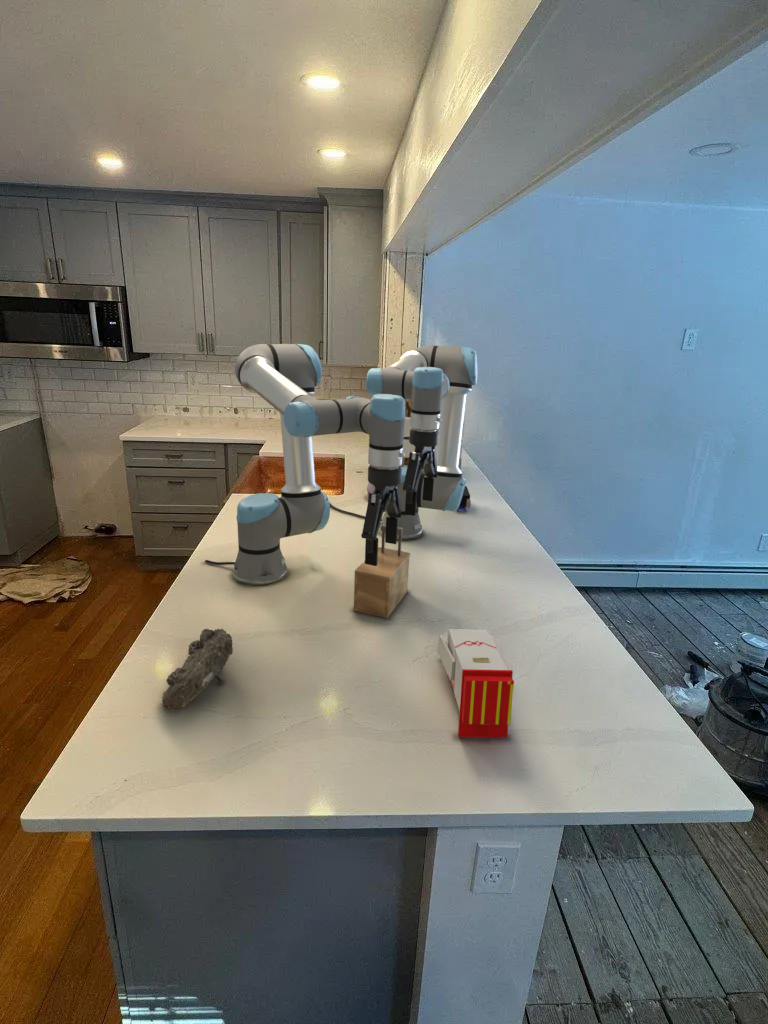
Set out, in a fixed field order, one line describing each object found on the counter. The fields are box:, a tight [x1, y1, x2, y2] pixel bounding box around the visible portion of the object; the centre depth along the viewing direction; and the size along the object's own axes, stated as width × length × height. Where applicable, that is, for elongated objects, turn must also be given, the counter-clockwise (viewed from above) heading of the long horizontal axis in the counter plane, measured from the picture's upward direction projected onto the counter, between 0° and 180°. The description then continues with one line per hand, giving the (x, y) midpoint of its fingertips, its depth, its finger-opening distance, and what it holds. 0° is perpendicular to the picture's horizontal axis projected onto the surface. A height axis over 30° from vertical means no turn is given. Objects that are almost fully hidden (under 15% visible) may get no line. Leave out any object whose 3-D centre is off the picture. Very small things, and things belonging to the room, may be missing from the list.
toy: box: [437, 628, 515, 738], centre depth 117 cm, size 12×13×30 cm
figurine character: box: [456, 485, 472, 513], centre depth 228 cm, size 7×8×15 cm
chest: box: [353, 556, 411, 619], centre depth 152 cm, size 16×10×11 cm, turn 159°
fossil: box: [161, 628, 234, 710], centre depth 117 cm, size 22×10×15 cm
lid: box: [354, 524, 412, 581], centre depth 149 cm, size 17×10×9 cm, turn 159°
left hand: (381, 553), depth 133 cm, fingers open, 13 cm apart
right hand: (419, 507), depth 153 cm, fingers open, 13 cm apart
